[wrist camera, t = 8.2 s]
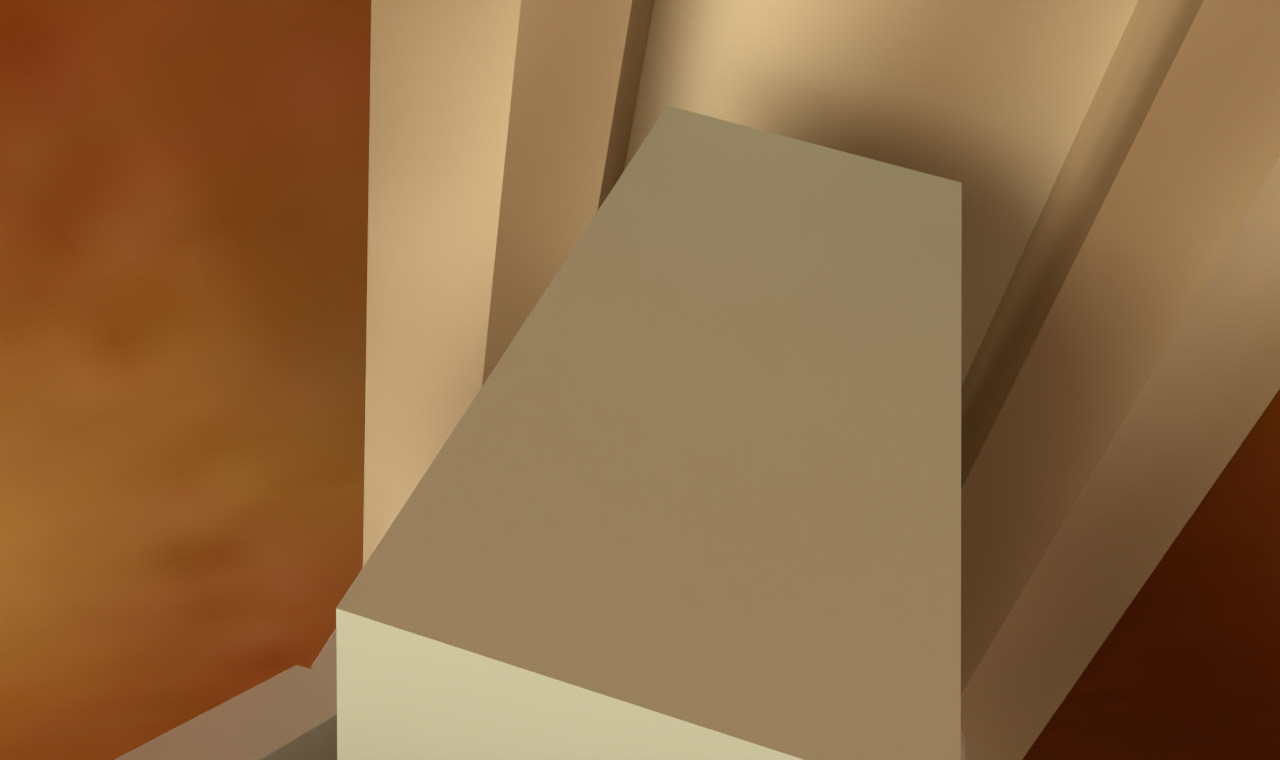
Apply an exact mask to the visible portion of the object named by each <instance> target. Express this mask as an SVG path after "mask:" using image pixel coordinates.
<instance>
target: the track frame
mask: <svg viewBox="0 0 1280 760" xmlns="http://www.w3.org/2000/svg"><path fill="white" fill-rule="evenodd" d="M667 106H671V107H675V108H679V109H683V110H686V111H690V112H694V113H698V114H702V115H705V116H709V117H713V118H717V119H721V120H725V121H728V122H732V123H736V124H740V125H744V126H747V127H751V128H755V129H759V130H763V131H766V132H770V133H774V134H778V135H782V136H786V137H789V138H793V139H797V140H801V141H805V142H808V143H812V144H816V145H820V146H824V147H827V148H831V149H835V150H839V151H843V152H847V153H850V154H854V155H858V156H862V157H866V158H869V159H873V160H877V161H881V162H885V163H888V164H892V165H896V166H900V167H904V168H907V169H911V170H915V171H919V172H923V173H927V174H930V175H934V176H938V177H942V178H946V179H949V180H953V181H957V182H961V183H962V268H961V731H963V734H964V736H965V739H966V741H967V760H1022V759H1023V758H1024V756H1025V755H1026V753H1027V752H1028V751H1029V749H1030V748H1031V746H1032V745H1033V743H1034V742H1035V740H1036V739H1037V738H1038V736H1039V735H1040V733H1041V732H1042V730H1043V729H1044V728H1045V726H1046V725H1047V723H1048V722H1049V720H1050V719H1051V717H1052V716H1053V715H1054V713H1055V712H1056V710H1057V709H1058V707H1059V706H1060V704H1061V703H1062V702H1063V700H1064V699H1065V697H1066V696H1067V694H1068V693H1069V692H1070V690H1071V689H1072V687H1073V686H1074V684H1075V683H1076V681H1077V680H1078V679H1079V677H1080V676H1081V674H1082V673H1083V671H1084V670H1085V668H1086V667H1087V666H1088V664H1089V663H1090V661H1091V660H1092V658H1093V657H1094V656H1095V654H1096V653H1097V651H1098V650H1099V648H1100V647H1101V645H1102V644H1103V643H1104V641H1105V640H1106V638H1107V637H1108V635H1109V634H1110V632H1111V631H1112V630H1113V628H1114V627H1115V625H1116V624H1117V622H1118V621H1119V619H1120V618H1121V617H1122V615H1123V614H1124V612H1125V611H1126V609H1127V608H1128V607H1129V605H1130V604H1131V602H1132V601H1133V599H1134V598H1135V596H1136V595H1137V594H1138V592H1139V591H1140V589H1141V588H1142V586H1143V585H1144V583H1145V582H1146V581H1147V579H1148V578H1149V576H1150V575H1151V573H1152V572H1153V571H1154V569H1155V568H1156V566H1157V565H1158V563H1159V562H1160V560H1161V559H1162V558H1163V556H1164V555H1165V553H1166V552H1167V550H1168V549H1169V547H1170V546H1171V545H1172V543H1173V542H1174V540H1175V539H1176V537H1177V536H1178V535H1179V533H1180V532H1181V530H1182V529H1183V527H1184V526H1185V524H1186V523H1187V522H1188V520H1189V519H1190V517H1191V516H1192V514H1193V513H1194V511H1195V510H1196V509H1197V507H1198V506H1199V504H1200V503H1201V501H1202V500H1203V499H1204V497H1205V496H1206V494H1207V493H1208V491H1209V490H1210V488H1211V487H1212V486H1213V484H1214V483H1215V481H1216V480H1217V478H1218V477H1219V475H1220V474H1221V473H1222V471H1223V470H1224V468H1225V467H1226V465H1227V464H1228V462H1229V461H1230V460H1231V458H1232V457H1233V455H1234V454H1235V452H1236V451H1237V450H1238V448H1239V447H1240V445H1241V444H1242V442H1243V441H1244V439H1245V438H1246V437H1247V435H1248V434H1249V432H1250V431H1251V429H1252V428H1253V426H1254V425H1255V424H1256V422H1257V421H1258V419H1259V418H1260V416H1261V415H1262V414H1263V412H1264V411H1265V409H1266V408H1267V406H1268V405H1269V403H1270V402H1271V401H1272V399H1273V398H1274V396H1275V395H1276V393H1277V392H1278V390H1279V389H1280V0H371V64H370V130H369V197H368V263H367V330H366V396H365V463H364V529H363V567H364V565H365V564H366V562H367V561H368V559H369V558H370V556H371V555H372V553H373V552H374V550H375V549H376V547H377V546H378V544H379V543H380V541H381V539H382V538H383V536H384V535H385V533H386V532H387V530H388V529H389V527H390V526H391V524H392V523H393V521H394V520H395V518H396V517H397V515H398V514H399V512H400V511H401V509H402V508H403V506H404V505H405V503H406V502H407V500H408V498H409V497H410V495H411V494H412V492H413V491H414V489H415V488H416V486H417V485H418V483H419V482H420V480H421V479H422V477H423V476H424V474H425V473H426V471H427V470H428V468H429V467H430V465H431V464H432V462H433V460H434V459H435V457H436V456H437V454H438V453H439V451H440V450H441V448H442V447H443V445H444V444H445V442H446V441H447V439H448V438H449V436H450V435H451V433H452V432H453V430H454V429H455V427H456V426H457V424H458V423H459V421H460V419H461V418H462V416H463V415H464V413H465V412H466V410H467V409H468V407H469V406H470V404H471V403H472V401H473V400H474V398H475V397H476V395H477V394H478V392H479V391H480V389H481V388H482V386H483V385H484V383H485V381H486V380H487V378H488V377H489V375H490V374H491V372H492V371H493V369H494V368H495V366H496V365H497V363H498V362H499V360H500V359H501V357H502V356H503V354H504V353H505V351H506V350H507V348H508V347H509V345H510V344H511V342H512V340H513V339H514V337H515V336H516V334H517V333H518V331H519V330H520V328H521V327H522V325H523V324H524V322H525V321H526V319H527V318H528V316H529V315H530V313H531V312H532V310H533V309H534V307H535V306H536V304H537V303H538V301H539V299H540V298H541V296H542V295H543V293H544V292H545V290H546V289H547V287H548V286H549V284H550V283H551V281H552V280H553V278H554V277H555V275H556V274H557V272H558V271H559V269H560V268H561V266H562V265H563V263H564V261H565V260H566V258H567V257H568V255H569V254H570V252H571V251H572V249H573V248H574V246H575V245H576V243H577V242H578V240H579V239H580V237H581V236H582V234H583V233H584V231H585V230H586V228H587V227H588V225H589V224H590V222H591V220H592V219H593V217H594V216H595V214H596V213H597V211H598V210H599V208H600V207H601V205H602V204H603V202H604V201H605V199H606V198H607V196H608V195H609V193H610V192H611V190H612V189H613V187H614V186H615V184H616V183H617V181H618V179H619V178H620V176H621V175H622V173H623V172H624V170H625V169H626V167H627V166H628V164H629V163H630V161H631V160H632V158H633V157H634V155H635V154H636V152H637V151H638V149H639V148H640V146H641V145H642V143H643V141H644V140H645V138H646V137H647V135H648V134H649V132H650V131H651V129H652V128H653V126H654V125H655V123H656V122H657V120H658V119H659V117H660V116H661V114H662V113H663V111H664V110H665V108H666V107H667Z"/></svg>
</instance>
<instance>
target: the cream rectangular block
mask: <svg viewBox="0 0 1280 760" xmlns="http://www.w3.org/2000/svg"><path fill="white" fill-rule="evenodd" d="M961 268H962V183H961V182H957V181H953V180H949V179H946V178H942V177H938V176H934V175H930V174H927V173H923V172H919V171H915V170H911V169H907V168H904V167H900V166H896V165H892V164H888V163H885V162H881V161H877V160H873V159H869V158H866V157H862V156H858V155H854V154H850V153H847V152H843V151H839V150H835V149H831V148H827V147H824V146H820V145H816V144H812V143H808V142H805V141H801V140H797V139H793V138H789V137H786V136H782V135H778V134H774V133H770V132H766V131H763V130H759V129H755V128H751V127H747V126H744V125H740V124H736V123H732V122H728V121H725V120H721V119H717V118H713V117H709V116H705V115H702V114H698V113H694V112H690V111H686V110H683V109H679V108H675V107H671V106H667V107H666V108H665V110H664V111H663V113H662V114H661V116H660V117H659V119H658V120H657V122H656V123H655V125H654V126H653V128H652V129H651V131H650V132H649V134H648V135H647V137H646V138H645V140H644V141H643V143H642V145H641V146H640V148H639V149H638V151H637V152H636V154H635V155H634V157H633V158H632V160H631V161H630V163H629V164H628V166H627V167H626V169H625V170H624V172H623V173H622V175H621V176H620V178H619V179H618V181H617V183H616V184H615V186H614V187H613V189H612V190H611V192H610V193H609V195H608V196H607V198H606V199H605V201H604V202H603V204H602V205H601V207H600V208H599V210H598V211H597V213H596V214H595V216H594V217H593V219H592V220H591V222H590V224H589V225H588V227H587V228H586V230H585V231H584V233H583V234H582V236H581V237H580V239H579V240H578V242H577V243H576V245H575V246H574V248H573V249H572V251H571V252H570V254H569V255H568V257H567V258H566V260H565V261H564V263H563V265H562V266H561V268H560V269H559V271H558V272H557V274H556V275H555V277H554V278H553V280H552V281H551V283H550V284H549V286H548V287H547V289H546V290H545V292H544V293H543V295H542V296H541V298H540V299H539V301H538V303H537V304H536V306H535V307H534V309H533V310H532V312H531V313H530V315H529V316H528V318H527V319H526V321H525V322H524V324H523V325H522V327H521V328H520V330H519V331H518V333H517V334H516V336H515V337H514V339H513V340H512V342H511V344H510V345H509V347H508V348H507V350H506V351H505V353H504V354H503V356H502V357H501V359H500V360H499V362H498V363H497V365H496V366H495V368H494V369H493V371H492V372H491V374H490V375H489V377H488V378H487V380H486V381H485V383H484V385H483V386H482V388H481V389H480V391H479V392H478V394H477V395H476V397H475V398H474V400H473V401H472V403H471V404H470V406H469V407H468V409H467V410H466V412H465V413H464V415H463V416H462V418H461V419H460V421H459V423H458V424H457V426H456V427H455V429H454V430H453V432H452V433H451V435H450V436H449V438H448V439H447V441H446V442H445V444H444V445H443V447H442V448H441V450H440V451H439V453H438V454H437V456H436V457H435V459H434V460H433V462H432V464H431V465H430V467H429V468H428V470H427V471H426V473H425V474H424V476H423V477H422V479H421V480H420V482H419V483H418V485H417V486H416V488H415V489H414V491H413V492H412V494H411V495H410V497H409V498H408V500H407V502H406V503H405V505H404V506H403V508H402V509H401V511H400V512H399V514H398V515H397V517H396V518H395V520H394V521H393V523H392V524H391V526H390V527H389V529H388V530H387V532H386V533H385V535H384V536H383V538H382V539H381V541H380V543H379V544H378V546H377V547H376V549H375V550H374V552H373V553H372V555H371V556H370V558H369V559H368V561H367V562H366V564H365V565H364V567H363V568H362V570H361V571H360V573H359V574H358V576H357V577H356V579H355V580H354V582H353V584H352V585H351V587H350V588H349V590H348V591H347V593H346V594H345V596H344V597H343V599H342V600H341V602H340V603H339V605H338V606H337V608H336V650H337V760H961Z"/></svg>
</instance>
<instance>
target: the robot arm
mask: <svg viewBox="0 0 1280 760" xmlns="http://www.w3.org/2000/svg"><path fill="white" fill-rule="evenodd" d="M114 760H337V650H336V629H335V630H334V632H333V633H332V635H331V636H330V638H329V639H328V641H327V643H326V644H325V646H324V647H323V649H322V650H321V652H320V653H319V655H318V657H317V658H316V660H315V661H314V663H313V664H312V666H311V667H310V669H309V668H305V667H302V666H299V665H295V666H293V667H291V668H289V669H287V670H285V671H283V672H281V673H280V674H278V675H276V676H274V677H272V678H270V679H268V680H266V681H264V682H262V683H260V684H258V685H256V686H255V687H253V688H251V689H249V690H247V691H245V692H243V693H241V694H239V695H237V696H235V697H233V698H232V699H230V700H228V701H226V702H224V703H222V704H220V705H218V706H216V707H214V708H212V709H210V710H208V711H207V712H205V713H203V714H201V715H199V716H197V717H195V718H193V719H191V720H189V721H187V722H185V723H184V724H182V725H180V726H178V727H176V728H174V729H172V730H170V731H168V732H166V733H164V734H162V735H160V736H159V737H157V738H155V739H153V740H151V741H149V742H147V743H145V744H143V745H141V746H139V747H137V748H136V749H134V750H132V751H130V752H128V753H126V754H124V755H122V756H120V757H118V758H116V759H114ZM961 760H967V741H966V739H965V736H964V734H963V731H961Z"/></svg>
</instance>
